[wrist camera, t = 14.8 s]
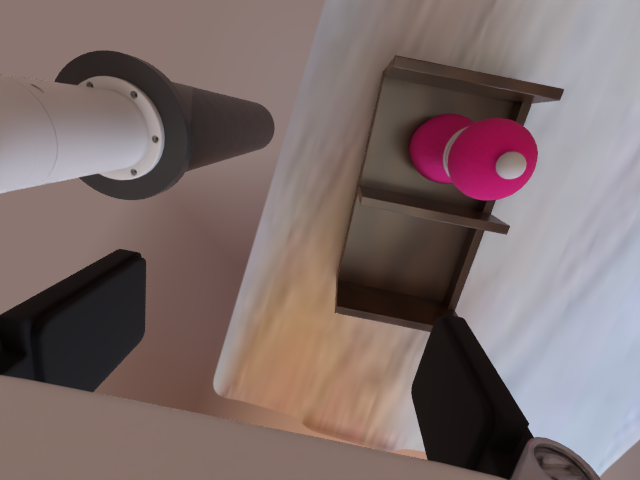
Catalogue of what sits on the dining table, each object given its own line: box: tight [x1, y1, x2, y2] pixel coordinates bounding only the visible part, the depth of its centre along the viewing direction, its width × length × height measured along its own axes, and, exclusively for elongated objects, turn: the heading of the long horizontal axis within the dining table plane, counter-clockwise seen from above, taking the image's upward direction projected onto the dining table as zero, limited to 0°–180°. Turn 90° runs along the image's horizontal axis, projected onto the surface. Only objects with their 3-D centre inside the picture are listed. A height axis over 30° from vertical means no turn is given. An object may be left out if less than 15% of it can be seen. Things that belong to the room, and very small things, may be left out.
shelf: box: [335, 56, 564, 332], centre depth 41 cm, size 16×28×10 cm, turn 169°
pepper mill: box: [409, 113, 538, 200], centre depth 31 cm, size 7×7×20 cm
